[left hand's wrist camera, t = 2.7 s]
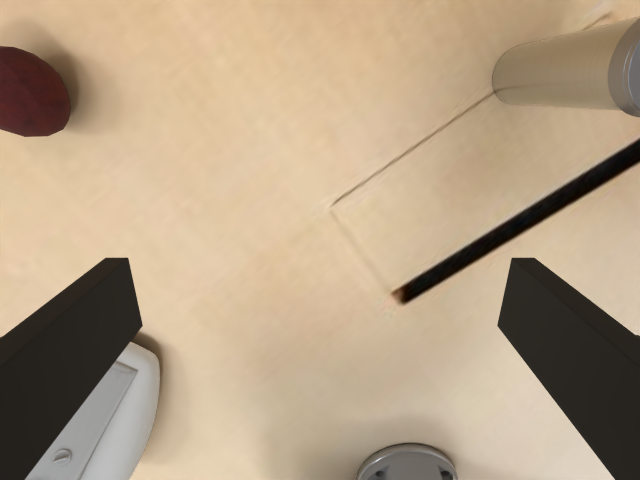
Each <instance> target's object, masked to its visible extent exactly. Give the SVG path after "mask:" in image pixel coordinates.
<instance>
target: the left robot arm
mask: <svg viewBox="0 0 640 480" xmlns="http://www.w3.org/2000/svg"><path fill="white" fill-rule="evenodd" d="M142 326H143V325H142V320H141V316H140V311H139V306H138V302H137V297H136V292H135V288H134V283H133V278H132V274H131V269H130V264H129V260H128V258H105V259H104V260H102V261H101V262H100V263H98V264H97V265H96V266H94V267H93V268H92V269H90V270H89V271H88V272H87V273H85V274H84V275H83V276H81V277H80V278H79V279H77V280H76V281H75V282H73V283H72V284H71V285H70V286H68V287H67V288H66V289H64V290H63V291H62V292H60V293H59V294H58V295H56V296H55V297H54V298H53V299H51V300H50V301H49V302H47V303H46V304H45V305H43V306H42V307H41V308H39V309H38V310H37V311H36V312H34V313H33V314H32V315H30V316H29V317H28V318H26V319H25V320H24V321H22V322H21V323H20V324H19V325H17V326H16V327H15V328H13V329H12V330H11V331H9V332H8V333H7V334H6V335H4V336H3V337H0V480H25V479H26V477H27V476H28V475H29V474H30V472H31V471H32V470H33V468H34V467H35V466H36V464H37V463H38V462H39V460H40V459H41V458H42V457H43V455H44V454H45V453H46V451H47V450H48V449H49V447H50V446H51V445H52V443H53V442H54V441H55V440H56V438H57V437H58V436H59V434H60V433H61V432H62V430H63V429H64V428H65V426H66V425H67V424H68V423H69V421H70V420H71V419H72V417H73V416H74V415H75V413H76V412H77V411H78V409H79V408H80V407H81V406H82V404H83V403H84V402H85V400H86V399H87V398H88V396H89V395H90V394H91V392H92V391H93V390H94V389H95V387H96V386H97V385H98V383H99V382H100V381H101V379H102V378H103V377H104V375H105V374H106V373H107V372H108V370H109V369H110V368H111V366H112V365H113V364H114V362H115V361H116V360H117V358H118V357H119V356H120V355H121V353H122V352H123V351H124V349H125V348H126V347H127V345H128V344H129V343H130V342H131V340H132V339H133V338H134V336H135V335H136V334H137V332H138V331H139V330H140V328H141V327H142ZM497 326H498V327H499V328H500V330H501V331H502V332H503V334H504V335H505V336H506V338H507V339H508V340H509V342H510V343H511V344H512V345H513V347H514V348H515V349H516V351H517V352H518V353H519V355H520V356H521V357H522V358H523V360H524V361H525V362H526V364H527V365H528V366H529V368H530V369H531V370H532V372H533V373H534V374H535V375H536V377H537V378H538V379H539V381H540V382H541V383H542V385H543V386H544V387H545V389H546V390H547V391H548V392H549V394H550V395H551V396H552V398H553V399H554V400H555V402H556V403H557V404H558V406H559V407H560V408H561V409H562V411H563V412H564V413H565V415H566V416H567V417H568V419H569V420H570V421H571V423H572V424H573V425H574V426H575V428H576V429H577V430H578V432H579V433H580V434H581V436H582V437H583V438H584V440H585V441H586V442H587V443H588V445H589V446H590V447H591V449H592V450H593V451H594V453H595V454H596V455H597V457H598V458H599V459H600V460H601V462H602V463H603V464H604V466H605V467H606V468H607V470H608V471H609V472H610V474H611V475H612V476H613V477H614V479H615V480H640V336H639V335H634V334H633V333H632V332H631V331H629V330H628V329H627V328H625V327H624V326H623V325H621V324H620V323H619V322H618V321H616V320H615V319H614V318H612V317H611V316H610V315H608V314H607V313H606V312H604V311H603V310H602V309H601V308H599V307H598V306H597V305H595V304H594V303H593V302H591V301H590V300H589V299H587V298H586V297H585V296H584V295H582V294H581V293H580V292H578V291H577V290H576V289H574V288H573V287H572V286H570V285H569V284H568V283H567V282H565V281H564V280H563V279H561V278H560V277H559V276H557V275H556V274H555V273H553V272H552V271H551V270H550V269H548V268H547V267H546V266H544V265H543V264H542V263H540V262H539V261H538V260H536V259H535V258H512V260H511V264H510V269H509V274H508V278H507V283H506V288H505V292H504V297H503V302H502V306H501V311H500V316H499V320H498V325H497ZM357 480H458V478H457V474H456V472H455V469H454V466H453V464H452V462H451V461H450V459H449V458H448V457H447V456H446V455H444V454H443V453H442V452H440V451H438V450H436V449H434V448H431V447H428V446H424V445H418V444H402V445H396V446H392V447H388V448H385V449H383V450H381V451H379V452H377V453H375V454H373V455H372V456H371V457H369V458H368V459H367V460H366V461H365V462H364V463H363V465H362V466H361V468H360V469H359V472H358V475H357Z"/></svg>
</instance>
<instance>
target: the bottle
mask: <svg viewBox="0 0 640 480" xmlns="http://www.w3.org/2000/svg"><path fill="white" fill-rule="evenodd" d="M639 18H640V17H635V18H631V19H627V20H623V21H619V22H615V23H611V24H607V25H602V26H598V27H594V28H590V29H586V30H582V31H578V32H573V33H569V34H565V35H561V36H557V37H553V38H549V39H545V40H540V41H536V42H532V43H528V44H524V45H520V46H516V47H514V48H512V49H510V50H509V51H507V52H506V53H505V54H504V55H503V56H502V57H501V58H500V59H499V61H498V63H497V64H496V66H495V69H494V72H493V78H492V83H493V89H494V91H495V93H496V95H497V96H498V98H499V99H500V100H502V101H503V102H505V103H508V104H514V105H531V106H550V107H568V108H586V109H604V110H621V109H620V108H619V107H618V106H617V105H616V104H615V102H614V101H613V99H612V97H611V95H610V92H609V88H608V68H609V63H610V60H611V57H612V54H613V52H614V50H615V47H616V45H617V44H618V42H619V40H620V39H621V37H622V36H623V35H624V33H625V32H626V31H627V30H628V28H629V27H630V26H631V25H632V24H633V23H634V22H635V21H636V20H638V19H639Z"/></svg>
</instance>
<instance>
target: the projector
mask: <svg viewBox="0 0 640 480" xmlns="http://www.w3.org/2000/svg"><path fill="white" fill-rule="evenodd" d="M159 388H160V368H159V361H158V358H157V357H156V355H155V354H153V353H152V352H151V351H149V350H146V349H145V348H143V347H141V346H139V345H137V344H135V343H132V342H130V343H129V344H128V345H127V347H126V348H125V349H124V351H123V352H122V353H121V355H120V356H119V357H118V358H117V360H116V361H115V362H114V364H113V365H112V366H111V368H110V369H109V370H108V372H107V373H106V374H105V375H104V377H103V378H102V379H101V381H100V382H99V383H98V385H97V386H96V387H95V389H94V390H93V391H92V392H91V394H90V395H89V396H88V398H87V399H86V400H85V402H84V403H83V404H82V406H81V407H80V408H79V409H78V411H77V412H76V413H75V415H74V416H73V417H72V419H71V420H70V421H69V423H68V424H67V425H66V426H65V428H64V429H63V430H62V432H61V433H60V434H59V436H58V437H57V438H56V440H55V441H54V442H53V443H52V445H51V446H50V447H49V449H48V450H47V451H46V453H45V454H44V455H43V457H42V458H41V459H40V460H39V462H38V463H37V464H36V466H35V467H34V468H33V470H32V471H31V472H30V474H29V475H28V476H27V477H26V479H25V480H129V479H130V477H131V475H132V474H133V472H134V470H135V468H136V466H137V464H138V462H139V460H140V458H141V456H142V454H143V452H144V449H145V447H146V444H147V442H148V439H149V436H150V433H151V431H152V427H153V424H154V420H155V416H156V411H157V405H158V398H159Z"/></svg>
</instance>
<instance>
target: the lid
mask: <svg viewBox="0 0 640 480" xmlns="http://www.w3.org/2000/svg"><path fill="white" fill-rule="evenodd" d="M608 88H609V92H610V95H611V97H612V99H613V101H614V102H615V104H616V105H617V106H618V107H619V108H620V109H621V110H622V111H624V112H625V113H627V114H629V115H632V116H636V117H640V18H639V19H638V20H636V21H635V22H634V23H633V24H632V25H631V26H630V27H629V28H628V30H627V31H626V32H625V33H624V35H623V36H622V37H621V39H620V40H619V42H618V44H617V45H616V47H615V50H614V52H613V54H612V57H611V60H610V63H609V68H608Z"/></svg>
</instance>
